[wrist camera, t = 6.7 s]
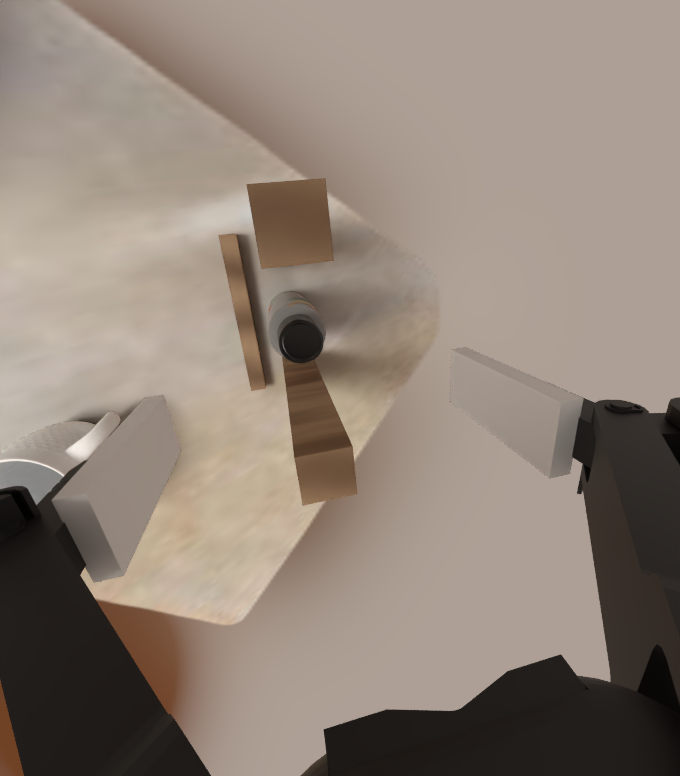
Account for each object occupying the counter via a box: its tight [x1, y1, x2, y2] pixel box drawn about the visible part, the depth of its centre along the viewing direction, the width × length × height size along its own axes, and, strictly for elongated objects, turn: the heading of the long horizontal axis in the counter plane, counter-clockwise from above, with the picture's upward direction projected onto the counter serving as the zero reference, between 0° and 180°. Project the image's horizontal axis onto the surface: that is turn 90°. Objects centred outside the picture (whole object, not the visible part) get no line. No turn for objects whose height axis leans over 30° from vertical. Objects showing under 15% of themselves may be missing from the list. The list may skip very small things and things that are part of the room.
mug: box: [0, 411, 121, 505], centre depth 41 cm, size 15×11×13 cm
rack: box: [219, 178, 357, 505], centre depth 33 cm, size 20×9×28 cm, turn 6°
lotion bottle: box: [268, 292, 326, 363], centre depth 37 cm, size 6×6×20 cm
